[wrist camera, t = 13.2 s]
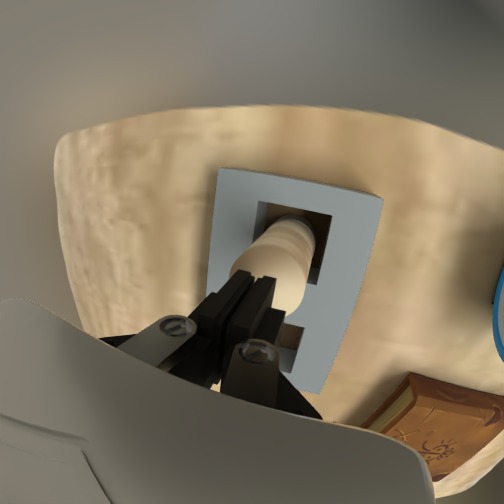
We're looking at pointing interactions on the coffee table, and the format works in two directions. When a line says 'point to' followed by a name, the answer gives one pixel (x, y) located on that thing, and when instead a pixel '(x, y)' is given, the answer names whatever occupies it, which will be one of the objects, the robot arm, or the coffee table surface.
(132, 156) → the coffee table surface
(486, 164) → the coffee table surface
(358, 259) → the board
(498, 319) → the alarm clock
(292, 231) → the dowel
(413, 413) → the diary
